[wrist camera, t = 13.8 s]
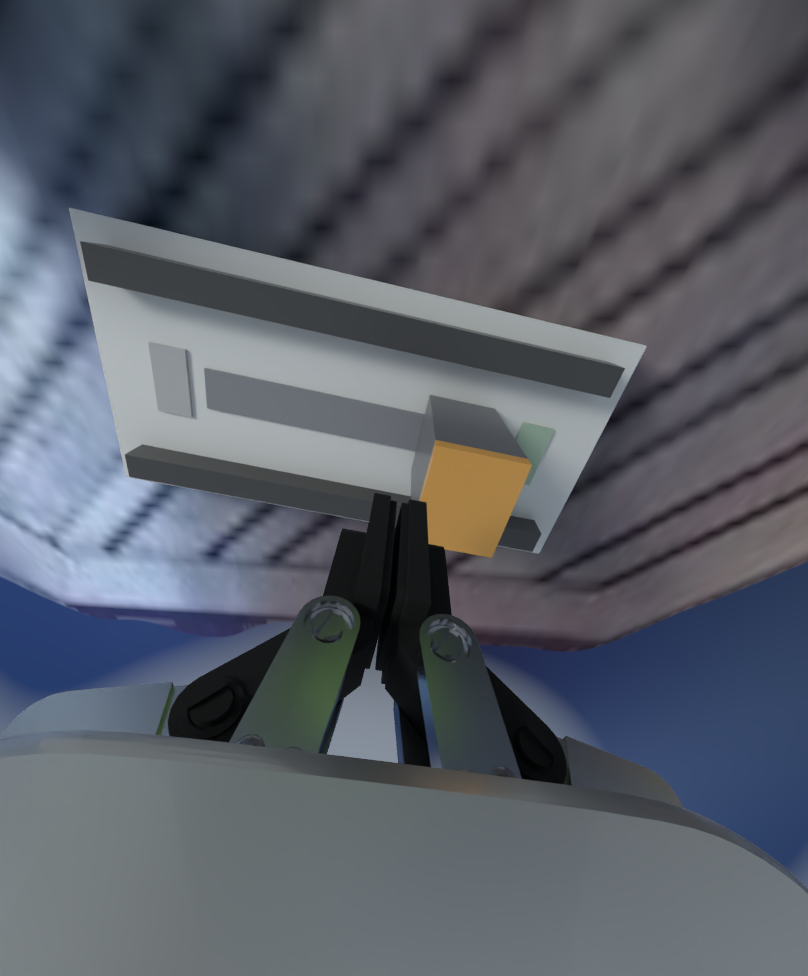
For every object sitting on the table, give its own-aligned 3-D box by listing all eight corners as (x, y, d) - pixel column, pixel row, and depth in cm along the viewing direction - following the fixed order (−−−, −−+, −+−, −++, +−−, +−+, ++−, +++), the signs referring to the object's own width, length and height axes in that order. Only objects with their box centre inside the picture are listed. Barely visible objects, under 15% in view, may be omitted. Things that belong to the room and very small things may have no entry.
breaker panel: (115, 218, 19) (37, 200, 15) (619, 338, 22) (665, 350, 18) (154, 458, 27) (108, 488, 23) (527, 529, 29) (545, 568, 25)
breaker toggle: (429, 394, 21) (436, 445, 14) (495, 408, 21) (532, 465, 14) (411, 469, 23) (409, 542, 16) (470, 481, 23) (492, 557, 17)
